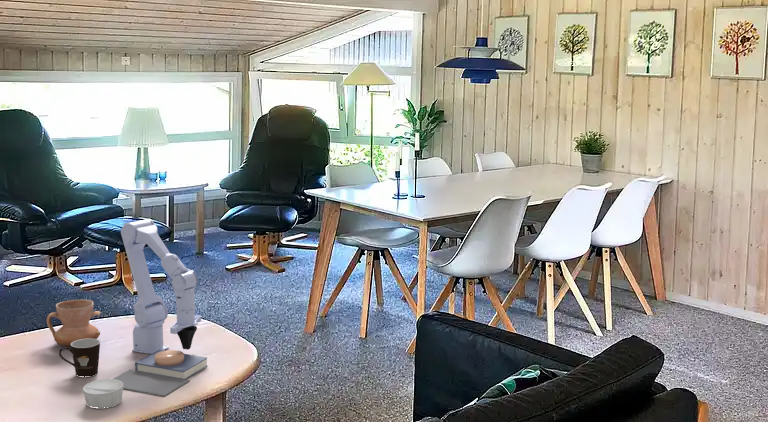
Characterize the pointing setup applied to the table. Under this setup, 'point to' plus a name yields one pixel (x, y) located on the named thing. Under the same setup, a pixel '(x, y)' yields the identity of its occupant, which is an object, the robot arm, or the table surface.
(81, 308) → the ceramic jug
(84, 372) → the coffee mug
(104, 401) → the ramekin
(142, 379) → the placemat
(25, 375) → the table surface
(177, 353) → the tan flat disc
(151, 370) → the book
